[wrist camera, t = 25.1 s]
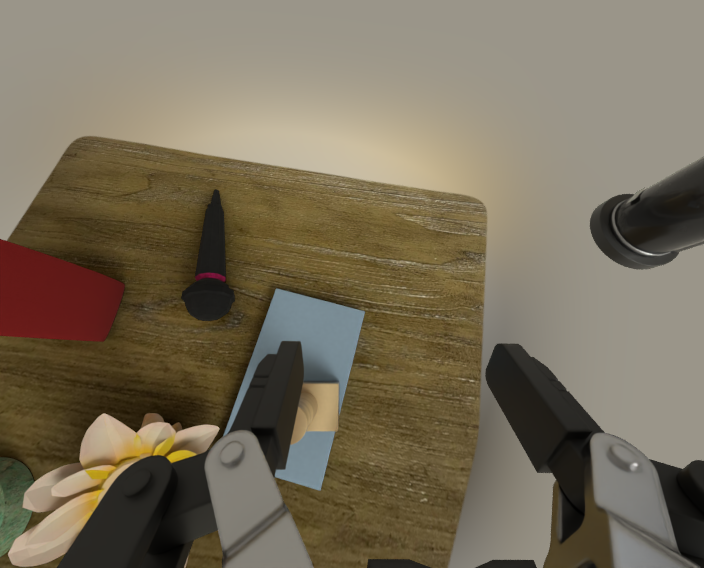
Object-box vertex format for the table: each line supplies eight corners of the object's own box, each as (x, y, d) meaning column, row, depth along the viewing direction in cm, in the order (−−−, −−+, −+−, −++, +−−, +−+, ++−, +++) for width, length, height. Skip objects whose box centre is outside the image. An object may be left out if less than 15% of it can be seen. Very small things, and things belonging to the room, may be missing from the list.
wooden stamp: (339, 380, 30) (335, 392, 20) (339, 422, 29) (334, 458, 19) (280, 380, 30) (245, 392, 20) (277, 422, 29) (238, 458, 18)
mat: (364, 312, 34) (365, 311, 32) (321, 485, 28) (320, 491, 27) (278, 290, 34) (276, 288, 33) (220, 454, 29) (214, 458, 28)
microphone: (216, 208, 41) (209, 328, 33) (184, 184, 36) (166, 319, 28) (245, 196, 40) (244, 319, 32) (216, 169, 34) (207, 307, 27)
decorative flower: (184, 605, 24) (47, 736, 15) (100, 557, 27) (-57, 641, 18) (241, 427, 29) (166, 443, 20) (166, 403, 32) (71, 407, 23)
